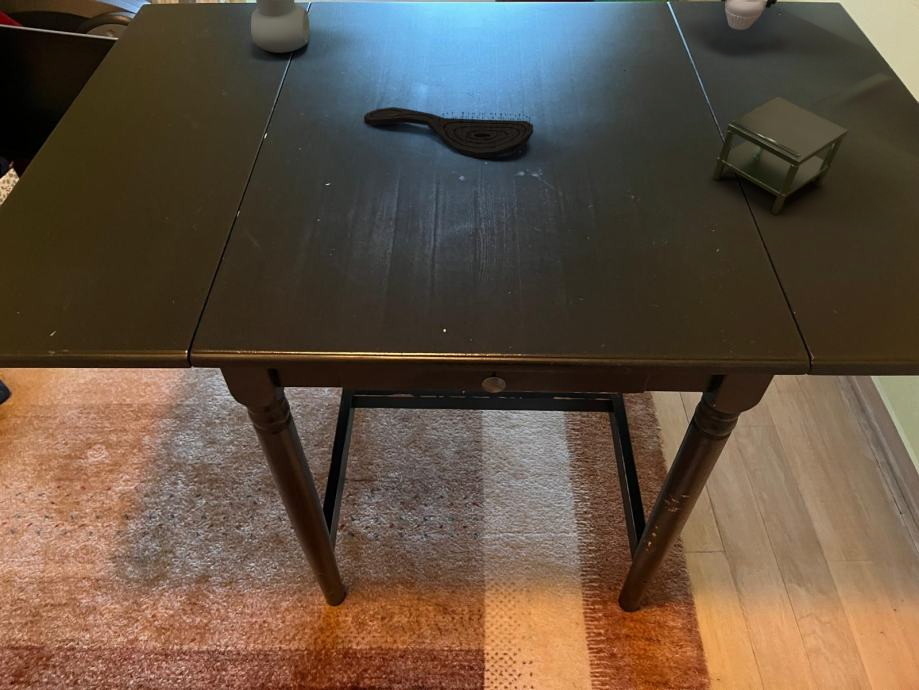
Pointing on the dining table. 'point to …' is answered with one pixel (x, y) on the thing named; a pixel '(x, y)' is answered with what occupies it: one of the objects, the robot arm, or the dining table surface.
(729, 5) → the muffin
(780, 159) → the side table
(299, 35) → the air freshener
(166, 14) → the dining table surface
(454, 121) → the hairbrush
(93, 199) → the dining table surface
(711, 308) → the dining table surface
